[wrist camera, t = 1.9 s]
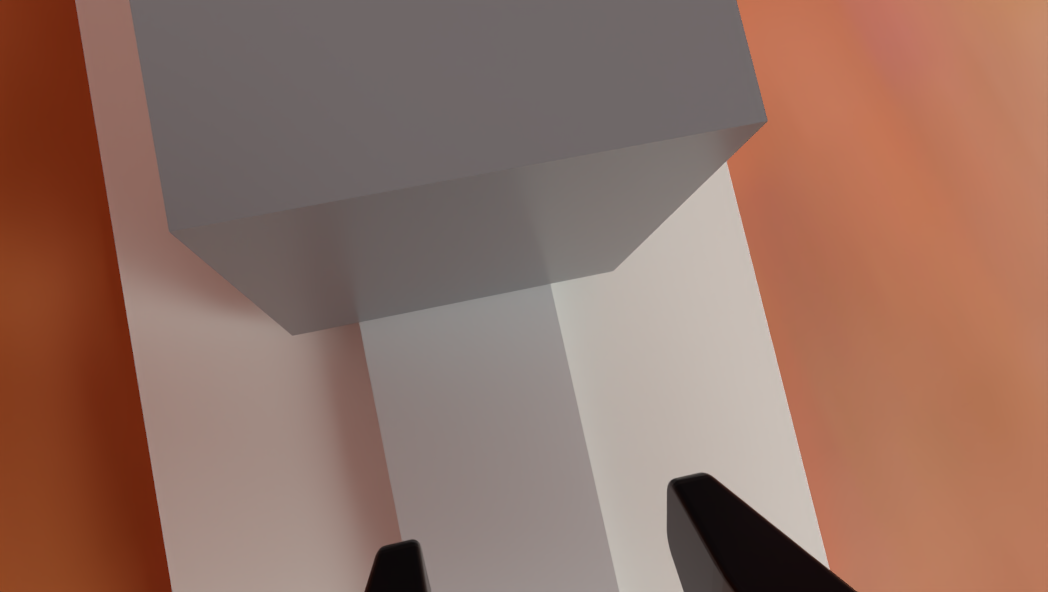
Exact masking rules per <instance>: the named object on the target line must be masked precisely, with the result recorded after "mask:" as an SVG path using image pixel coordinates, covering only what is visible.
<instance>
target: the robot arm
mask: <svg viewBox="0 0 1048 592" xmlns="http://www.w3.org/2000/svg"><path fill="white" fill-rule="evenodd" d="M667 539H668V544H669V548H670V552H671V555H672V558H673V561H674V564H675V567H676V570H677V573H678V576H679V579H680V582H681V585H682V588H683V591H684V592H857V591H855V590H854V589H853V588H852V587H850V586H849V585H848V584H847V583H845V582H844V581H843V580H842V579H840V578H839V577H838V576H837V575H835V574H834V573H833V572H832V571H830V570H829V569H828V568H827V567H825V566H824V565H823V564H822V563H820V562H819V561H818V560H817V559H815V558H814V557H813V556H812V555H810V554H809V553H808V552H807V551H805V550H804V549H803V548H802V547H800V546H799V545H798V544H797V543H795V542H794V541H793V540H792V539H790V538H789V537H788V536H787V535H785V534H784V533H783V532H782V531H780V530H779V529H778V528H777V527H775V526H774V525H773V524H772V523H770V522H769V521H768V520H767V519H765V518H764V517H763V516H762V515H760V514H759V513H758V512H757V511H755V510H754V509H753V508H752V507H750V506H749V505H748V504H747V503H745V502H744V501H743V500H742V499H740V498H739V497H738V496H737V495H735V494H734V493H733V492H732V491H730V490H729V489H728V488H727V487H725V486H724V485H723V484H722V483H720V482H719V481H718V480H717V479H716V478H714V477H713V476H712V475H710V474H708V473H704V472H700V473H695V474H691V475H686V476H682V477H678V478H674V479H672V480H670V482H669V483H668V486H667ZM364 592H431V587H430V583H429V579H428V574H427V570H426V566H425V561H424V557H423V552H422V548H421V545H420V543H419V542H418V541H417V540H414V539H410V540H406V541H402V542H397V543H393V544H389V545H385V546H382V547H381V548H380V549H379V550H378V551H377V553H376V556H375V558H374V562H373V565H372V568H371V571H370V575H369V578H368V581H367V584H366V587H365V591H364Z"/></svg>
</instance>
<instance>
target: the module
mask: <svg viewBox="0 0 1048 592" xmlns="http://www.w3.org/2000/svg"><path fill="white" fill-rule="evenodd" d="M129 2H130V8H131V14H132V20H133V25H134V31H135V37H136V43H137V49H138V54H139V60H140V66H141V72H142V78H143V83H144V89H145V95H146V101H147V107H148V113H149V118H150V124H151V130H152V136H153V142H154V147H155V153H156V159H157V165H158V171H159V176H160V182H161V188H162V194H163V200H164V206H165V211H166V217H167V223H168V229H169V232H170V233H171V234H172V235H173V236H174V237H176V238H177V239H178V240H179V241H180V242H182V243H183V244H184V245H185V246H186V247H188V248H189V249H190V250H191V251H192V252H193V253H195V254H196V255H197V256H198V257H199V258H201V259H202V260H203V261H204V262H205V263H207V264H208V265H209V266H210V267H211V268H212V269H214V270H215V271H216V272H217V273H218V274H220V275H221V276H222V277H223V278H224V279H226V280H227V281H228V282H229V283H230V284H231V285H233V286H234V287H235V288H236V289H237V290H239V291H240V292H241V293H242V294H243V295H245V296H246V297H247V298H248V299H249V300H251V301H252V302H253V303H254V304H255V305H256V306H258V307H259V308H260V309H261V310H262V311H264V312H265V313H266V314H267V315H268V316H270V317H271V318H272V319H273V320H274V321H275V322H277V323H278V324H279V325H280V326H281V327H283V328H284V329H285V330H286V331H287V332H289V333H290V334H291V335H292V336H294V335H299V334H304V333H309V332H314V331H318V330H323V329H328V328H333V327H338V326H343V325H348V324H353V323H358V322H363V321H368V320H373V319H378V318H383V317H388V316H393V315H398V314H403V313H408V312H413V311H418V310H423V309H428V308H433V307H438V306H443V305H448V304H453V303H458V302H462V301H467V300H472V299H477V298H482V297H487V296H492V295H497V294H502V293H507V292H512V291H517V290H522V289H527V288H532V287H537V286H542V285H547V284H552V283H557V282H562V281H567V280H572V279H577V278H582V277H587V276H592V275H597V274H601V273H606V272H611V271H614V270H615V269H616V268H617V267H618V266H619V265H620V264H621V263H622V262H623V261H624V260H625V259H626V258H627V257H628V256H629V255H630V254H631V253H632V252H633V251H635V250H636V249H637V248H638V247H639V246H640V245H641V244H642V243H643V242H644V241H645V240H646V239H647V238H648V237H649V236H650V235H651V234H652V233H653V232H654V231H655V230H656V229H657V228H658V227H659V226H660V225H661V224H662V223H663V222H664V221H665V220H666V219H667V218H668V217H669V216H671V215H672V214H673V213H674V212H675V211H676V210H677V209H678V208H679V207H680V206H681V205H682V204H683V203H684V202H685V201H686V200H687V199H688V198H689V197H690V196H691V195H692V194H693V193H694V192H695V191H696V190H697V189H698V188H699V187H700V186H701V185H702V184H703V183H704V182H706V181H707V180H708V179H709V178H710V177H711V176H712V175H713V174H714V173H715V172H716V171H717V170H718V169H719V168H720V167H721V166H722V165H723V164H724V163H725V162H726V161H727V160H728V159H729V158H730V157H731V156H732V155H733V154H734V153H735V152H736V151H737V150H738V149H739V148H741V147H742V146H743V145H744V144H745V143H746V142H747V141H748V140H749V139H750V138H751V137H752V136H753V135H754V134H755V133H756V132H757V131H758V130H759V129H760V128H761V127H762V126H763V125H764V124H765V123H766V122H767V121H768V120H767V116H766V113H765V109H764V105H763V101H762V97H761V93H760V90H759V86H758V82H757V78H756V74H755V70H754V66H753V63H752V59H751V55H750V51H749V47H748V43H747V40H746V36H745V32H744V28H743V24H742V20H741V17H740V13H739V9H738V5H737V1H736V0H129Z"/></svg>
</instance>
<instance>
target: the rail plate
mask: <svg viewBox="0 0 1048 592" xmlns="http://www.w3.org/2000/svg"><path fill="white" fill-rule="evenodd" d="M75 3H76V9H77V15H78V21H79V27H80V33H81V40H82V46H83V52H84V58H85V64H86V70H87V76H88V82H89V88H90V94H91V100H92V107H93V113H94V119H95V125H96V131H97V137H98V143H99V149H100V155H101V161H102V167H103V174H104V180H105V186H106V192H107V198H108V204H109V210H110V216H111V222H112V228H113V234H114V241H115V247H116V253H117V259H118V265H119V271H120V277H121V283H122V289H123V295H124V301H125V308H126V314H127V320H128V326H129V332H130V338H131V344H132V350H133V356H134V362H135V368H136V375H137V381H138V387H139V393H140V399H141V405H142V411H143V417H144V423H145V429H146V435H147V442H148V448H149V454H150V460H151V466H152V472H153V478H154V484H155V490H156V496H157V502H158V509H159V515H160V521H161V527H162V533H163V539H164V545H165V551H166V557H167V563H168V569H169V576H170V582H171V588H172V592H364V591H365V587H366V584H367V581H368V578H369V575H370V571H371V568H372V565H373V562H374V558H375V556H376V553H377V551H378V550H379V549H380V548H381V547H382V546H385V545H389V544H393V543H397V542H402V541H406V540H410V539H414V540H417V541H418V542H419V543H420V545H421V548H422V552H423V557H424V561H425V566H426V570H427V574H428V579H429V583H430V587H431V592H684V591H683V588H682V585H681V582H680V579H679V576H678V573H677V570H676V567H675V564H674V561H673V558H672V555H671V552H670V548H669V544H668V539H667V486H668V483H669V482H670V480H672V479H674V478H678V477H682V476H686V475H691V474H695V473H700V472H704V473H708V474H710V475H712V476H713V477H714V478H716V479H717V480H718V481H719V482H720V483H722V484H723V485H724V486H725V487H727V488H728V489H729V490H730V491H732V492H733V493H734V494H735V495H737V496H738V497H739V498H740V499H742V500H743V501H744V502H745V503H747V504H748V505H749V506H750V507H752V508H753V509H754V510H755V511H757V512H758V513H759V514H760V515H762V516H763V517H764V518H765V519H767V520H768V521H769V522H770V523H772V524H773V525H774V526H775V527H777V528H778V529H779V530H780V531H782V532H783V533H784V534H785V535H787V536H788V537H789V538H790V539H792V540H793V541H794V542H795V543H797V544H798V545H799V546H800V547H802V548H803V549H804V550H805V551H807V552H808V553H809V554H810V555H812V556H813V557H814V558H815V559H817V560H818V561H819V562H820V563H822V564H823V565H824V566H825V567H827V568H828V569H829V565H828V561H827V557H826V553H825V549H824V545H823V541H822V537H821V533H820V530H819V526H818V522H817V518H816V514H815V510H814V506H813V502H812V498H811V494H810V490H809V486H808V482H807V478H806V474H805V470H804V466H803V462H802V458H801V454H800V450H799V446H798V443H797V439H796V435H795V431H794V427H793V423H792V419H791V415H790V411H789V407H788V403H787V399H786V395H785V391H784V387H783V383H782V379H781V375H780V371H779V367H778V363H777V359H776V356H775V352H774V348H773V344H772V340H771V336H770V332H769V328H768V324H767V320H766V316H765V312H764V308H763V304H762V300H761V296H760V292H759V288H758V284H757V280H756V276H755V272H754V269H753V265H752V261H751V257H750V253H749V249H748V245H747V241H746V237H745V233H744V229H743V225H742V221H741V217H740V213H739V209H738V205H737V201H736V197H735V193H734V189H733V185H732V182H731V178H730V174H729V170H728V166H727V162H725V163H724V164H723V165H722V166H721V167H720V168H719V169H718V170H717V171H716V172H715V173H714V174H713V175H712V176H711V177H710V178H709V179H708V180H707V181H706V182H704V183H703V184H702V185H701V186H700V187H699V188H698V189H697V190H696V191H695V192H694V193H693V194H692V195H691V196H690V197H689V198H688V199H687V200H686V201H685V202H684V203H683V204H682V205H681V206H680V207H679V208H678V209H677V210H676V211H675V212H674V213H673V214H672V215H671V216H669V217H668V218H667V219H666V220H665V221H664V222H663V223H662V224H661V225H660V226H659V227H658V228H657V229H656V230H655V231H654V232H653V233H652V234H651V235H650V236H649V237H648V238H647V239H646V240H645V241H644V242H643V243H642V244H641V245H640V246H639V247H638V248H637V249H636V250H635V251H633V252H632V253H631V254H630V255H629V256H628V257H627V258H626V259H625V260H624V261H623V262H622V263H621V264H620V265H619V266H618V267H617V268H616V269H615V270H614V271H611V272H606V273H601V274H597V275H592V276H587V277H582V278H577V279H572V280H567V281H562V282H557V283H552V284H547V285H542V286H537V287H532V288H527V289H522V290H517V291H512V292H507V293H502V294H497V295H492V296H487V297H482V298H477V299H472V300H467V301H462V302H458V303H453V304H448V305H443V306H438V307H433V308H428V309H423V310H418V311H413V312H408V313H403V314H398V315H393V316H388V317H383V318H378V319H373V320H368V321H363V322H358V323H353V324H348V325H343V326H338V327H333V328H328V329H323V330H318V331H314V332H309V333H304V334H299V335H294V336H292V335H291V334H290V333H289V332H287V331H286V330H285V329H284V328H283V327H281V326H280V325H279V324H278V323H277V322H275V321H274V320H273V319H272V318H271V317H270V316H268V315H267V314H266V313H265V312H264V311H262V310H261V309H260V308H259V307H258V306H256V305H255V304H254V303H253V302H252V301H251V300H249V299H248V298H247V297H246V296H245V295H243V294H242V293H241V292H240V291H239V290H237V289H236V288H235V287H234V286H233V285H231V284H230V283H229V282H228V281H227V280H226V279H224V278H223V277H222V276H221V275H220V274H218V273H217V272H216V271H215V270H214V269H212V268H211V267H210V266H209V265H208V264H207V263H205V262H204V261H203V260H202V259H201V258H199V257H198V256H197V255H196V254H195V253H193V252H192V251H191V250H190V249H189V248H188V247H186V246H185V245H184V244H183V243H182V242H180V241H179V240H178V239H177V238H176V237H174V236H173V235H172V234H171V233H170V232H169V229H168V223H167V217H166V211H165V206H164V200H163V194H162V188H161V182H160V176H159V171H158V165H157V159H156V153H155V147H154V142H153V136H152V130H151V124H150V118H149V113H148V107H147V101H146V95H145V89H144V83H143V78H142V72H141V66H140V60H139V54H138V49H137V43H136V37H135V31H134V25H133V20H132V14H131V8H130V2H129V0H75ZM829 570H830V569H829Z"/></svg>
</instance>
